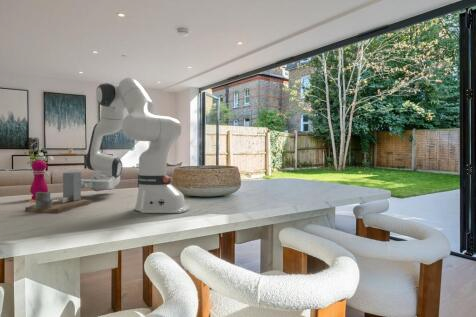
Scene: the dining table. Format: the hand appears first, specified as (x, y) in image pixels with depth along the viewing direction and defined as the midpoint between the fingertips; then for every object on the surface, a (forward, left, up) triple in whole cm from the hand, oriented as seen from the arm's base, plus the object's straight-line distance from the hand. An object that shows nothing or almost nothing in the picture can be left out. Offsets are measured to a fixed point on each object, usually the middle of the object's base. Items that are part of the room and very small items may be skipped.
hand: (82, 185), depth 152 cm
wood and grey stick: (+3, +23, -5) cm, 24 cm away
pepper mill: (+22, 0, -7) cm, 23 cm away
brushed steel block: (0, +10, -5) cm, 12 cm away
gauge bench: (0, +15, -7) cm, 17 cm away
